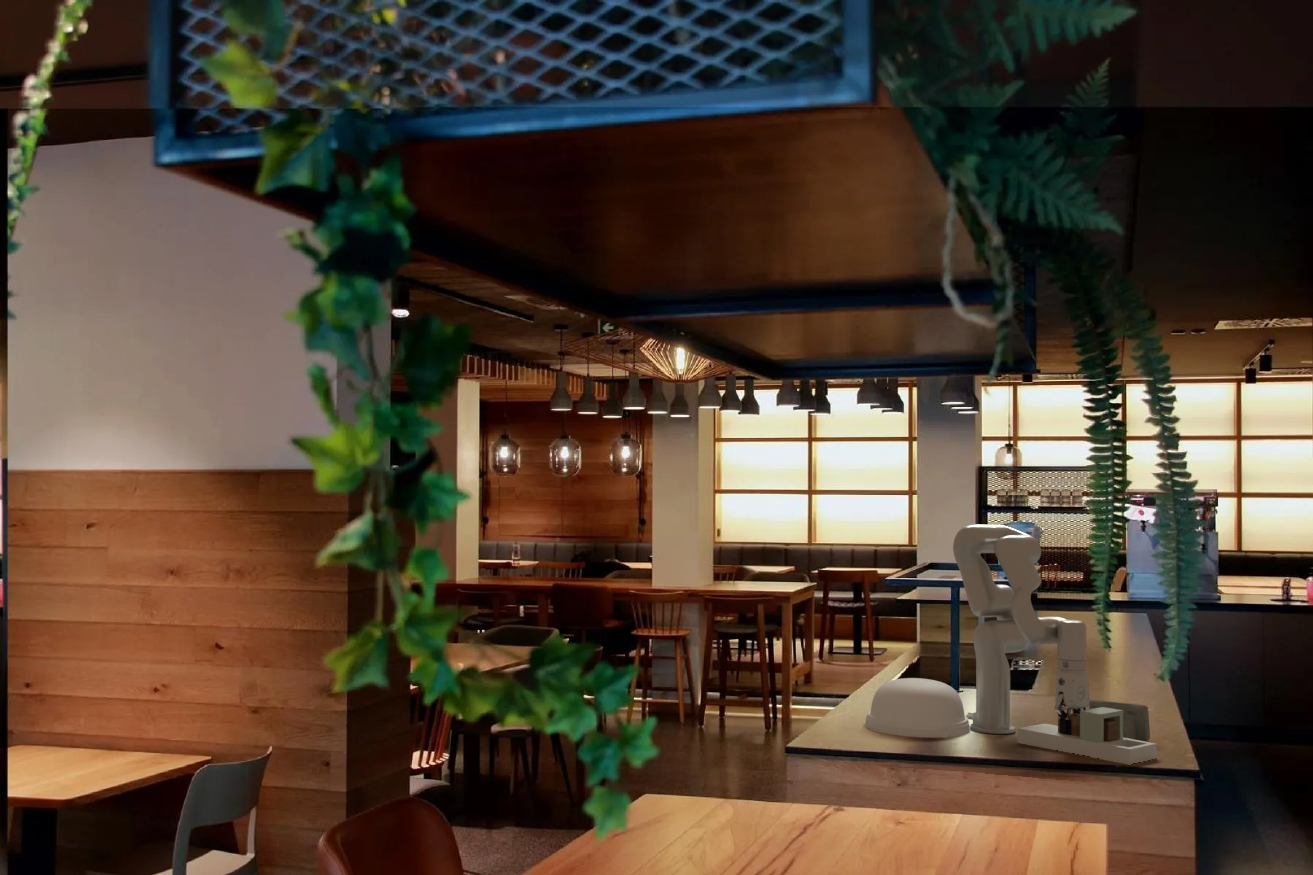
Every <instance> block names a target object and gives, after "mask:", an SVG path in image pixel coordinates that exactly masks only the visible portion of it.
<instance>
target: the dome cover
mask: <svg viewBox="0 0 1313 875" xmlns="http://www.w3.org/2000/svg"><path fill="white" fill-rule="evenodd" d="M864 725H865V727H866V728H868V729H870V730H872V731H875V732H878V733H882V734H888V735H893V736H901V737H912V738H931V739H932V738H933V739H935V738H939V739H940V738H944V739H948V738H954V737H961V736H964V735H967V734H969V733H970V731H971V728H970V721H969V719H968V718H967V717H966V715H965V710H964V704H963V701H962V698H961V696H960V694H959V692H958V691H956V689H954V688H953V687H952V686H950V685H948V683H945V682H942V681H938V680H935V679H928V678H921V677H919V678H918V677H907V678H905V677H904V678H895V679H892V680H889V681H886V682H885V683H884V682H883V684H881V685H880V686H879V687H878V688H877V690H876V691H875V693H874V694H873V697H872V701H871V706H870V710H869V711H868V712H866V716H865V724H864Z"/></svg>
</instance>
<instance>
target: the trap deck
mask: <svg viewBox="0 0 1313 875" xmlns="http://www.w3.org/2000/svg"><path fill="white" fill-rule="evenodd" d="M1017 744H1020V745H1027V746H1030V747H1031V746H1033V747H1037V748H1042V749H1046V750H1047V749H1048V750H1052V751H1056V750H1058V751H1057V752H1062V751H1063V753H1067V752H1068V753H1067V754H1072V753H1075V754H1074V755H1077V754H1079V755H1078V756H1082V755H1086V756H1085V757H1087V756H1090V757H1089V758H1091V759H1097V758H1099V759H1098V760H1102V761H1103V760H1104V761H1108V762H1114V763H1118V764H1122V765H1129V766H1131V764H1133V763H1137V764H1139V763H1138V762H1141V761H1146V760H1150V759H1153V758H1158V757H1157V755H1158V754H1157V753H1158V752H1157V751H1158V750H1157V749H1158V748H1157V747H1158V744H1157V743H1155V742H1150V741H1140V740H1134V739H1129V738H1122V739H1119V740H1115V741H1110V742H1106V741H1104V742H1102V743H1098V742H1093V741H1088V740H1082V739H1080V737H1079V736H1074V735H1066V734H1061V733H1058V725H1055V724H1049V723H1041V724H1040V723H1039V724H1035V725H1028V726H1024V727H1023V726H1022V727H1018V728H1017ZM1150 761H1151V760H1150ZM1146 762H1147V761H1146ZM1141 763H1142V762H1141ZM1133 765H1134V764H1133Z"/></svg>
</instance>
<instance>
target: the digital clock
mask: <svg viewBox="0 0 1313 875" xmlns="http://www.w3.org/2000/svg"><path fill="white" fill-rule="evenodd" d="M1100 707H1105V708H1111V709H1118V710H1123V738H1129V739H1134V740H1140V741H1145V742H1149V741H1150V739H1151V731H1150V716H1149V715H1150V714H1149V708H1148V705H1144V704H1138V703H1129V702H1118V701H1109V700H1100V699H1090V703H1089V706H1088V708H1089V709H1094V708H1100Z"/></svg>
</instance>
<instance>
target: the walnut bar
mask: <svg viewBox="0 0 1313 875" xmlns="http://www.w3.org/2000/svg"><path fill="white" fill-rule="evenodd" d="M1058 716H1059V715H1058V714H1057V726H1058V733H1060V719H1059V718H1058ZM1069 720H1071V735H1074V736H1079V737H1080V714H1075V713H1073V712H1071V714H1070V719H1069ZM1115 740H1119V721H1117V720H1111V719H1105V718H1104V741H1106V742H1110V741H1115Z"/></svg>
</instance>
